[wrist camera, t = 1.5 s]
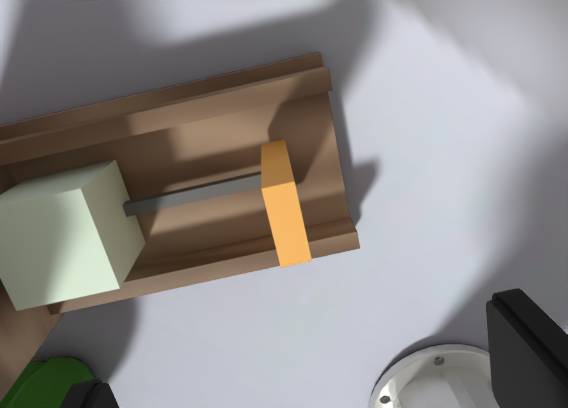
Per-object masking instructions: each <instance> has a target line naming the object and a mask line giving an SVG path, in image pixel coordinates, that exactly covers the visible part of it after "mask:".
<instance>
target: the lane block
mask: <svg viewBox="0 0 568 408" xmlns="http://www.w3.org/2000/svg"><path fill="white" fill-rule="evenodd" d="M260 187H261V189H262V194H263V198H264V202H265V206H266V210H267V214H268V218H269V222H270V226H271V230H272V234H273V238H274V242H275V246H276V250H277V254H278V258H279V262H280V266H281V267H285V266H290V265H295V264H299V263H304V262H308V261H312V259H311V254H310V250H309V245H308V240H307V236H306V231H305V227H304V222H303V218H302V213H301V209H300V204H299V199H298V195H297V190H296V186H295V181H294V177H293V173H292V168H291V164H290V160H289V156H288V151H287V147H286V143H285V139H283V140H278V141H274V142H269V143H265V144H261V171H259V172H254V173H250V174H245V175H241V176H236V177H232V178H227V179H223V180H218V181H214V182H209V183H205V184H200V185H196V186H191V187H187V188H182V189H178V190H174V191H169V192H165V193H160V194H156V195H151V196H147V197H142V198H138V199H133V200H130V198H129V195H128V192H127V190H126V187H125V184H124V181H123V178H122V176H121V173H120V170H119V167H118V164H117V162H116V159H115V160H111V161H106V162H102V163H98V164H93V165H89V166H84V167H80V168H75V169H71V170H67V171H62V172H58V173H53V174H49V175H44V176H40V177H36V178H31V179H27V180H24V181H22V182H21V183H19V184H17V185H16V186H14V187H12V188H11V189H9V190H7V191H6V192H4V193H2V194H1V195H0V279H1V281H2V283H3V285H4V287H5V289H6V291H7V293H8V295H9V297H10V299H11V301H12V303H13V305H14V307H15V309H16V311H19V310H23V309H28V308H32V307H37V306H42V305H46V304H51V303H55V302H60V301H65V300H69V299H74V298H78V297H83V296H88V295H92V294H97V293H101V292H106V291H111V290H115V289H120V287H121V286H122V284H123V282H124V280H125V279H126V277H127V275H128V273H129V272H130V270H131V268H132V266H133V264H134V263H135V261H136V259H137V257H138V256H139V254H140V252H141V250H142V249H143V247H144V245H145V240H144V237H143V234H142V232H141V229H140V226H139V223H138V220H137V218H136V215H138V214H143V213H147V212H152V211H156V210H161V209H165V208H170V207H174V206H179V205H183V204H188V203H192V202H197V201H201V200H206V199H210V198H215V197H219V196H224V195H228V194H233V193H237V192H242V191H246V190H251V189H255V188H260Z"/></svg>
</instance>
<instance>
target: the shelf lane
mask: <svg viewBox="0 0 568 408" xmlns="http://www.w3.org/2000/svg"><path fill="white" fill-rule="evenodd" d="M328 91H332V85H331V79H330V74H329V69H328V68H325V67H323V64H322V58H321V53H318V52H317V53H313V54H308V55H304V56H300V57H295V58H291V59H287V60H282V61H278V62H273V63H269V64H265V65H260V66H256V67H252V68H247V69H243V70H239V71H234V72H230V73H226V74H221V75H217V76H213V77H208V78H204V79H200V80H195V81H191V82H187V83H182V84H178V85H173V86H169V87H165V88H160V89H156V90H152V91H147V92H143V93H139V94H134V95H130V96H126V97H121V98H117V99H113V100H108V101H104V102H100V103H95V104H91V105H86V106H82V107H78V108H73V109H69V110H65V111H60V112H56V113H52V114H47V115H43V116H39V117H34V118H30V119H26V120H21V121H17V122H13V123H8V124H4V125H0V195H1V194H2V193H4V192H6V191H7V190H9V189H11V188H12V187H14V186H16V185H17V184H19V183H21V182H22V181H24V180H27V179H31V178H36V177H40V176H44V175H49V174H53V173H58V172H62V171H67V170H71V169H75V168H80V167H84V166H89V165H93V164H98V163H102V162H106V161H111V160H115V159H116V162H117V164H118V167H119V170H120V173H121V176H122V178H123V181H124V184H125V187H126V190H127V192H128V195H129V198H130V200H133V199H138V198H142V197H147V196H151V195H156V194H160V193H165V192H169V191H174V190H178V189H182V188H187V187H191V186H196V185H200V184H205V183H209V182H214V181H218V180H223V179H227V178H232V177H236V176H241V175H245V174H250V173H254V172H259V171H261V144H265V143H269V142H274V141H278V140H283V139H285V143H286V147H287V151H288V156H289V160H290V164H291V168H292V173H293V177H294V181H295V186H296V190H297V195H298V199H299V204H300V209H301V213H302V218H303V222H304V227H305V231H306V236H307V240H308V245H309V250H310V254H311V259H313V258H317V257H322V256H327V255H331V254H336V253H341V252H345V251H350V250H354V249H359V248H360V245H359V239H358V233H357V230H356V228H355V226H354V224H353V222H352V220H351V218H350V215H349V209H348V203H347V198H346V192H345V187H344V181H343V175H342V170H341V164H340V159H339V153H338V148H337V142H336V136H335V131H334V125H333V120H332V114H331V108H330V103H329V97H328ZM136 218H137V220H138V223H139V226H140V229H141V232H142V234H143V237H144V240H145V245H144V247H143V249H142V250H141V252H140V254H139V256H138V257H137V259H136V261H135V263H134V264H133V266H132V268H131V270H130V272H129V273H128V275H127V277H126V279H125V280H124V282H123V284H122V286H121V287H120V289H115V290H111V291H106V292H101V293H97V294H92V295H88V296H83V297H78V298H74V299H69V300H65V301H60V302H55V303H51V304H46V305H42V306H37V307H32V308H28V309H23V310H19V311H16V309H15V307H14V305H13V303H12V301H11V299H10V297H9V295H8V293H7V291H6V289H5V287H4V285H3V283H2V281H1V279H0V402H1V401H2V399H3V398H4V396H5V395H6V394H7V392H8V391H9V389H10V388H11V387H12V385H13V384H14V383H15V381H16V380H17V378H18V377H19V376H20V374H21V373H22V371H23V370H24V369H25V367H26V366H27V364H28V363H29V362H30V360H31V359H32V357H33V356H34V355H35V353H36V352H37V350H38V349H39V348H40V346H41V345H42V343H43V342H44V341H45V339H46V338H47V337H48V335H49V334H50V332H51V331H52V330H53V328H54V327H55V325H56V324H57V323H58V321H59V320H60V318H61V317H62V316H63V314H64V313H65V312H68V311H73V310H77V309H82V308H87V307H91V306H96V305H101V304H105V303H110V302H114V301H119V300H124V299H128V298H133V297H137V296H142V295H147V294H151V293H156V292H161V291H165V290H170V289H174V288H179V287H184V286H188V285H193V284H197V283H202V282H207V281H211V280H216V279H221V278H225V277H230V276H234V275H239V274H244V273H248V272H253V271H257V270H262V269H267V268H271V267H276V266H280V262H279V258H278V254H277V250H276V246H275V242H274V238H273V234H272V230H271V226H270V222H269V218H268V214H267V210H266V206H265V202H264V198H263V194H262V189H261V187H260V188H255V189H251V190H246V191H242V192H237V193H233V194H228V195H224V196H219V197H215V198H210V199H206V200H201V201H197V202H192V203H188V204H183V205H179V206H174V207H170V208H165V209H161V210H156V211H152V212H147V213H143V214H138V215H136Z"/></svg>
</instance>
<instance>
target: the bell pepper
mask: <svg viewBox="0 0 568 408" xmlns="http://www.w3.org/2000/svg"><path fill="white" fill-rule="evenodd" d="M91 379H95V377H94V375H93V374H92V372H91V371H90V370H89V368H88V367H87V366H86V365H85V364H84V363H82V362H80V361H79V360H77V359H75V358H74V357H55V358H51V359H50V360H49V361H47V362H42V361H35V362H30V363H28V364H27V366H26V367H25V369H24V370H23V371H22V373H21V374H20V376H19V377H18V378H17V380H16V381H15V383H14V384H13V385H12V387H11V388H10V389H9V391H8V392H7V394H6V395H5V396H4V398H3V399H2V401H1V402H0V408H59V407H60V405H61V403H62V401H63V400H64V398H65V396H66V394H67V392H68V390H69V388H70V387H71V386H72V384H74V383H77V382H82V381H87V380H91Z"/></svg>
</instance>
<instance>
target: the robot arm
mask: <svg viewBox="0 0 568 408" xmlns="http://www.w3.org/2000/svg"><path fill="white" fill-rule="evenodd" d="M486 312H487V327H488V341H489V352H487V351H485V350H482V349H479V348H477V347H474V346H468V345H462V344H444V345H438V346H432V347H428V348H425V349H422V350H419V351H416V352H414V353H412V354H410V355H408V356H406V357H405V358H403V359H401V360H400V361H399V362H397V363H396V364H395V365H393V366H392V367H391V368H390V369H389V370H388V371H387V372H386V373H385V374H384V375H383V376H382V377H381V379H380V380H379V382H378V383H377V385H376V386H375V388H374V391H373V393H372V396H371V398H370V404H369V408H568V335H567V334H566V333H565V332H564V331H563V330H562V329H561V328H560V327H559V326H558V325H557V324H556V323H555V322H554V321H553V320H552V319H551V318H550V317H549V316H548V315H547V314H546V313H545V312H544V311H543V310H542V309H541V308H539V307H538V306H537V305H536V304H535V303H534V302H533V301H532V300H531V299H530V298H529V297H528V296H527V295H526V294H525V293H524V292H523V291H522V290H520V289H512V290H507V291H502V292H498V293H494V294H493V296H492V300H490V301H487V303H486ZM59 408H119V406H118V404H117V401H116V399H115V397H114V395H113V392H112V390H111V388H110V386H109V384H107V383H102V381H101V380H100V379H91V380H87V381H82V382H77V383H74V384H72V386H71V387H70V388H69V390H68V392H67V394H66V396H65V398H64V400H63V401H62V403H61V405H60V407H59Z"/></svg>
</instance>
